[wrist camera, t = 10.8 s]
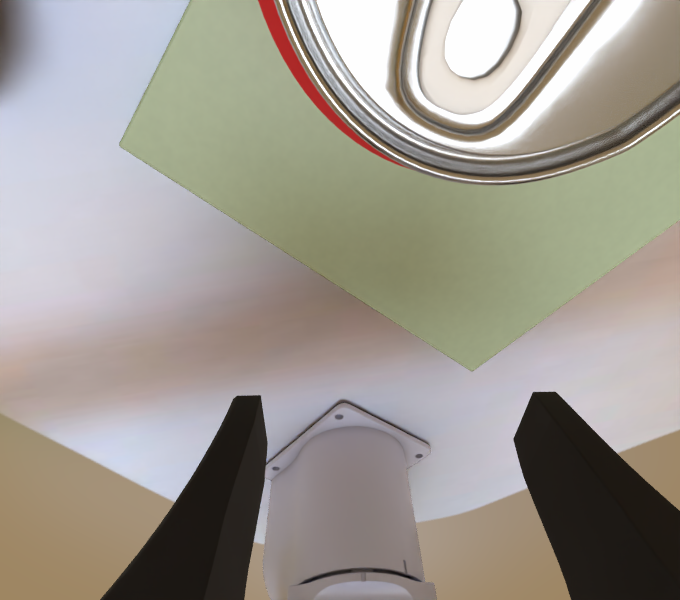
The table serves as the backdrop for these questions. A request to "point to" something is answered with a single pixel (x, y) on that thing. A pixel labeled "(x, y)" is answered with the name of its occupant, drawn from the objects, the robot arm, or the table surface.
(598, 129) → the beverage can
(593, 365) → the table surface
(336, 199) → the board
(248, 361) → the table surface
